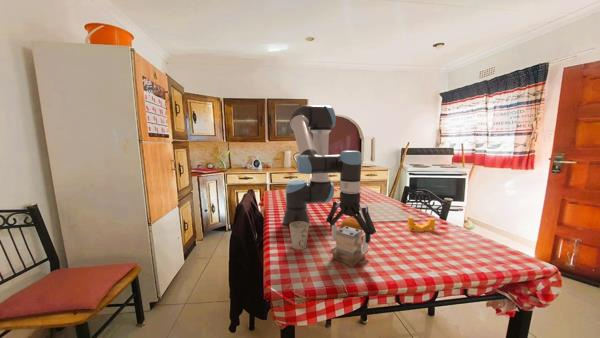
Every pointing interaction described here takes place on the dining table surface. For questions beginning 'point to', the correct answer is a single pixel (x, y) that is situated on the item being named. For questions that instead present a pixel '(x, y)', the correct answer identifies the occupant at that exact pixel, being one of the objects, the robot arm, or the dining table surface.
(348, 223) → the fruit
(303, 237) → the mug
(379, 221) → the dining table surface
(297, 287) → the dining table surface
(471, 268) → the dining table surface
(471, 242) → the dining table surface
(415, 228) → the pipe clamp
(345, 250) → the housing
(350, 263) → the stand
